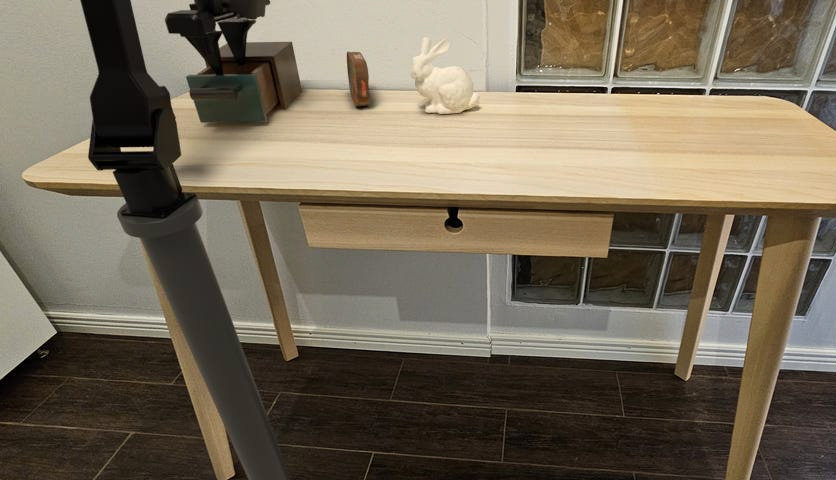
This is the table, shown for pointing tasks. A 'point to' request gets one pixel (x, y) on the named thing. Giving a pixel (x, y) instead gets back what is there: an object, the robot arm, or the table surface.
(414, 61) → the rabbit
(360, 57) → the tin
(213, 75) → the drawer
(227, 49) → the cabinet
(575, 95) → the table surface
